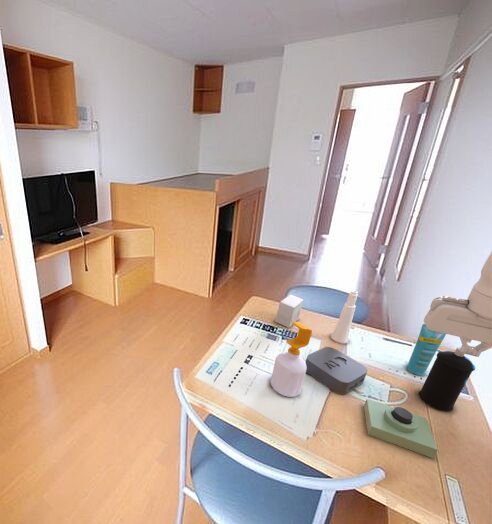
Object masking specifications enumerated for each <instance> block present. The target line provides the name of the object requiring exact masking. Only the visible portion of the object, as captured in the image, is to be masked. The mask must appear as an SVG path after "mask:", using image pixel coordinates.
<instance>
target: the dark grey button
mask: <svg viewBox="0 0 492 524" xmlns="http://www.w3.org/2000/svg"><path fill="white" fill-rule="evenodd" d="M394 407H395V408H394V410H393V413H392V416H393V417H394V419H396V420H397V421H399V422H400V423H403V424H410V422H411V420H412V418H413V416H412V414H411V413H412V412H411V411H409V410H407V408H404V407H401V406H394Z"/></svg>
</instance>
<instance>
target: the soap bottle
mask: <svg viewBox="0 0 492 524" xmlns="http://www.w3.org/2000/svg"><path fill="white" fill-rule="evenodd" d="M292 323H293V324H292V325H294V327H295V326H296V327H297V328H298V331H297V332H298V333H297V335H296V337H293V338H288V339H286V341H285V342H286V344H287V345H289V347H288V349H287V351H285V352H281V353H279V354H278V355H277V356H276V357H275V359H274V360H275V361H274V365H273V369H272V373H271V378H270V385H271V387H272V389H273V390H274V391H275V392H276V393H278V394H280V395H282V396H283V397H288V398H295V397H297V396H299V395H300V393H301V391H302V388H303V385H304V381H305V377H306V373H307V372H306V369H307V366H306V361H305V360H304V359H303V358H302V357H301V356H300V353H301V350H300V349H302V348H305V347H307V346H308V345H309V343H310V341H311V337H312V333H313V331H312V329H310V328H309V327H308V326H306V325H305V324H304V323H302V322H300V321H296V322H292Z"/></svg>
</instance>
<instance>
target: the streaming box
mask: <svg viewBox="0 0 492 524" xmlns="http://www.w3.org/2000/svg"><path fill="white" fill-rule="evenodd" d="M305 363H306V366H307V369H306V373H307V374H309V375H310V376H311V377H313V379H316V380H317V381H318V382H320V383H322V384H323V385H324V386H325V387H327V388H328V389H330V390H331V391H333V392H334V393H336V394H339V395H346V394H348V393H350V392H352V391H353V390H355V389H357V388H358V387H360V386H361V385H363V384H364V382H365V379H366V376H367V373H368V368H367V367H366V366H365V365H363V364H362V363H360V362H359V361H357V360H355V359H354V358H352V357H350V356H349V355H346V354H345V353H343V352H341V351H340V350H338V349H337V348H334V347H331V346H324V347H322V348H320V349H318V350H316V351H314V352H311V353H309V354H308V355H307V356H306V361H305Z"/></svg>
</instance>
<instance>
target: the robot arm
mask: <svg viewBox="0 0 492 524" xmlns="http://www.w3.org/2000/svg"><path fill="white" fill-rule="evenodd" d="M429 307H430V308H429V310H428V311H427V313H426V315H425V316H424V318H423V324H425V325H426V327H427V328H428V329H429V330H431V331H436V332H440V333H445V334H446V335H449V336H454V337H458V338H459V340H460V342H461V344H462V345H461V346H460V351H461V353H463V354H464V355H467V356H472V357H477V358H479V357H480V355H481V353H483V352H486V351H488V350H490V349H492V251H491V252H490V253H489V255H488V257H487V258H486V260H485V262H484V264H483V266H482V267H481V270H480V277H479V279H478V281H477V282H475V284H474V285H473V286H472V288H471V290H470V292H469V294H468V297H467V298H466V299H463V298H457V297H451V296H447V295H443V296H438V297H435V298H433V300H432V301H431V303H430V305H429ZM472 341H476V342H480V343H479V344H477V345H475V346H473V345H468V343H469V344H470V343H471V342H472Z"/></svg>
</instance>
